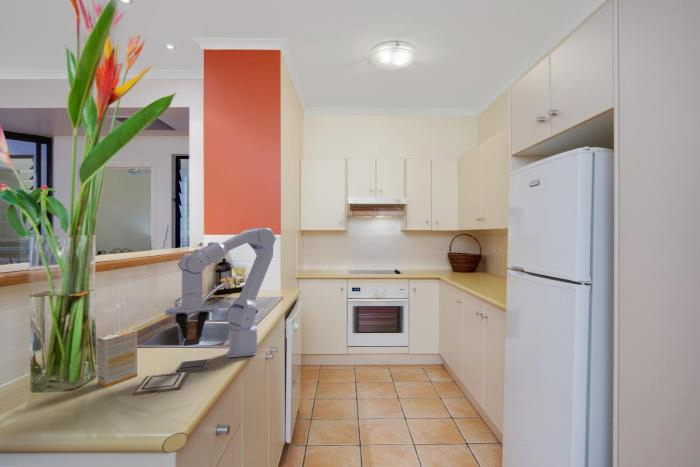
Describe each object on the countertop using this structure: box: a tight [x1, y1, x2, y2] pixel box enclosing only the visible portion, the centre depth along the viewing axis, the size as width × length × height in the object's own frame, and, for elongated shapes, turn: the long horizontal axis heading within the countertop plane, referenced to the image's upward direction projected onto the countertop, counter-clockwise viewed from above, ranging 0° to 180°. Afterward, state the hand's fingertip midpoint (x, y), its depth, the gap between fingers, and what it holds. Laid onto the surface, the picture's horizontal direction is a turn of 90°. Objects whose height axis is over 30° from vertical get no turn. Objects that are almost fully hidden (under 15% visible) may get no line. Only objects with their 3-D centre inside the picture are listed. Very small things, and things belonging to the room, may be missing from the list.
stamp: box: [183, 320, 201, 347], centre depth 98 cm, size 4×4×6 cm
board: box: [131, 372, 190, 396], centre depth 88 cm, size 11×10×1 cm
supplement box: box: [96, 328, 138, 388], centre depth 91 cm, size 8×5×13 cm, turn 150°
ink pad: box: [175, 358, 210, 373], centre depth 98 cm, size 8×6×1 cm
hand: (192, 337), depth 98 cm, fingers closed on stamp, 3 cm apart
